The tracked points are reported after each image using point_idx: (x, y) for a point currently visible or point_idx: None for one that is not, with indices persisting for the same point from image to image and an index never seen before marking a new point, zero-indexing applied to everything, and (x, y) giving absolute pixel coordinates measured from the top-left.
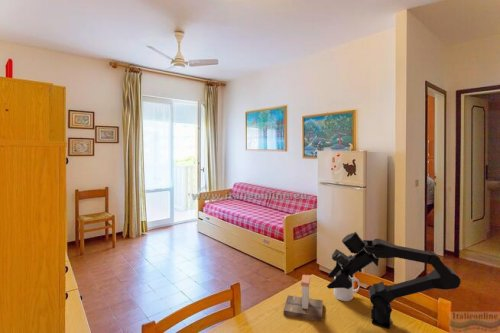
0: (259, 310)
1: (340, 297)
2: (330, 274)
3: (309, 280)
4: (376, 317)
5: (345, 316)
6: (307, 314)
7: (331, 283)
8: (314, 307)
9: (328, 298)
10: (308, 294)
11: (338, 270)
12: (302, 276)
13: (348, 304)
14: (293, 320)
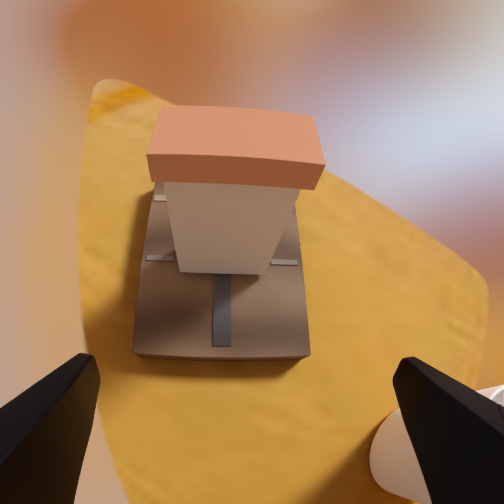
0: None
1: (378, 445)
2: (421, 389)
3: (211, 156)
4: None
5: (222, 481)
6: (140, 274)
7: (15, 405)
8: (213, 310)
9: (371, 381)
10: (225, 239)
11: (481, 493)
12: (273, 111)
13: (346, 485)
14: (127, 225)
